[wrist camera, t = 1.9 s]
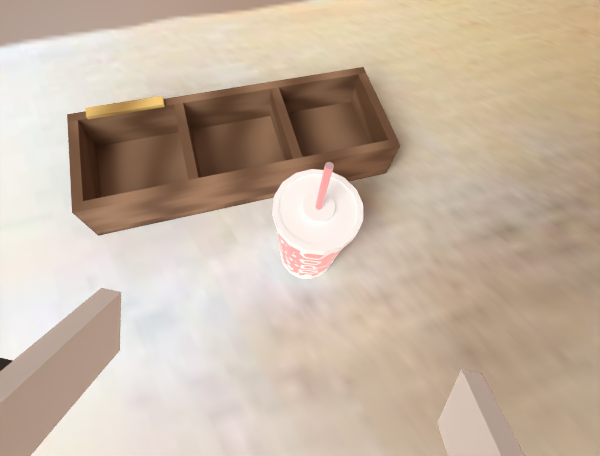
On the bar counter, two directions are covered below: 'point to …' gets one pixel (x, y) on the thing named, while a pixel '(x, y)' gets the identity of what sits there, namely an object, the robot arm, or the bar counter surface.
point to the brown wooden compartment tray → (221, 147)
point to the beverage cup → (315, 219)
